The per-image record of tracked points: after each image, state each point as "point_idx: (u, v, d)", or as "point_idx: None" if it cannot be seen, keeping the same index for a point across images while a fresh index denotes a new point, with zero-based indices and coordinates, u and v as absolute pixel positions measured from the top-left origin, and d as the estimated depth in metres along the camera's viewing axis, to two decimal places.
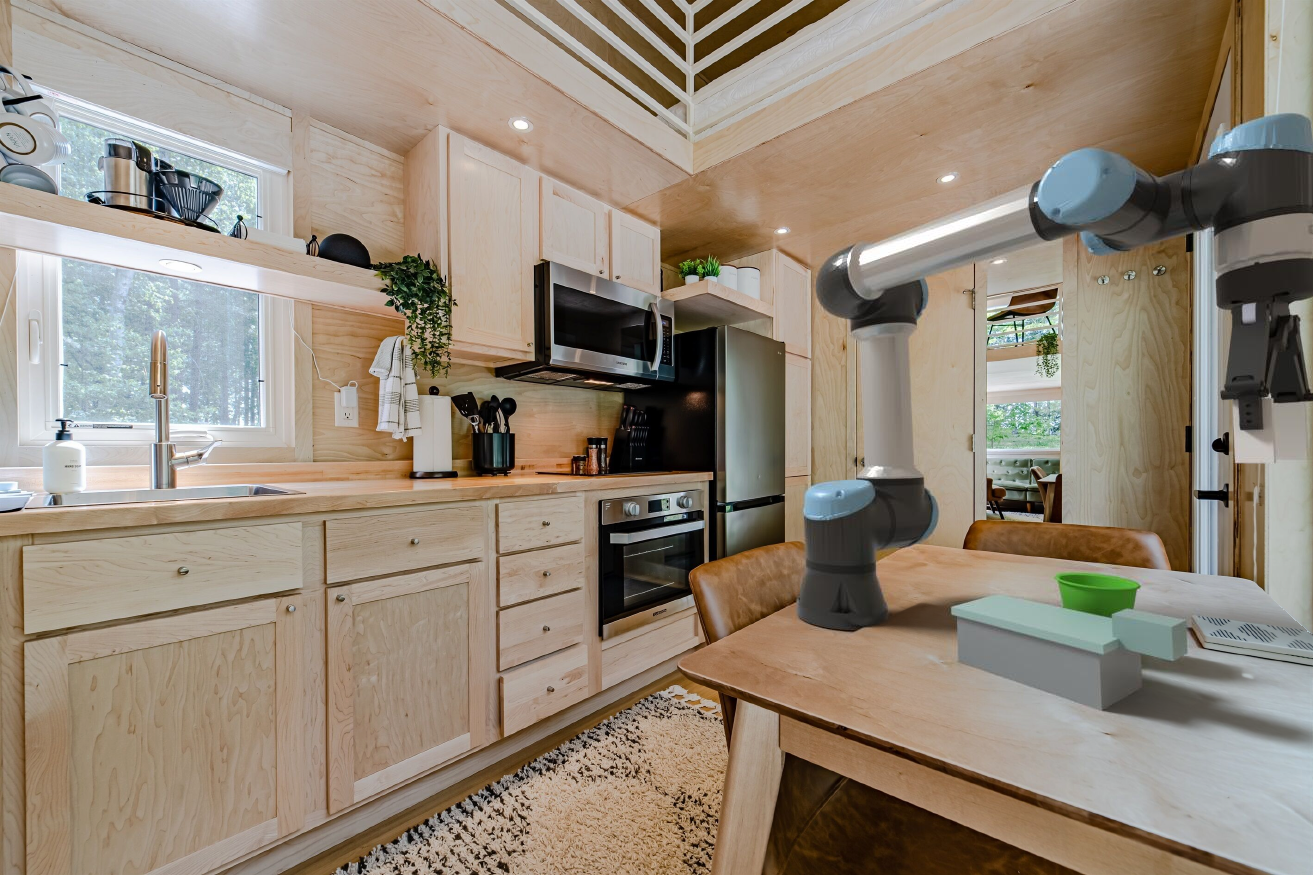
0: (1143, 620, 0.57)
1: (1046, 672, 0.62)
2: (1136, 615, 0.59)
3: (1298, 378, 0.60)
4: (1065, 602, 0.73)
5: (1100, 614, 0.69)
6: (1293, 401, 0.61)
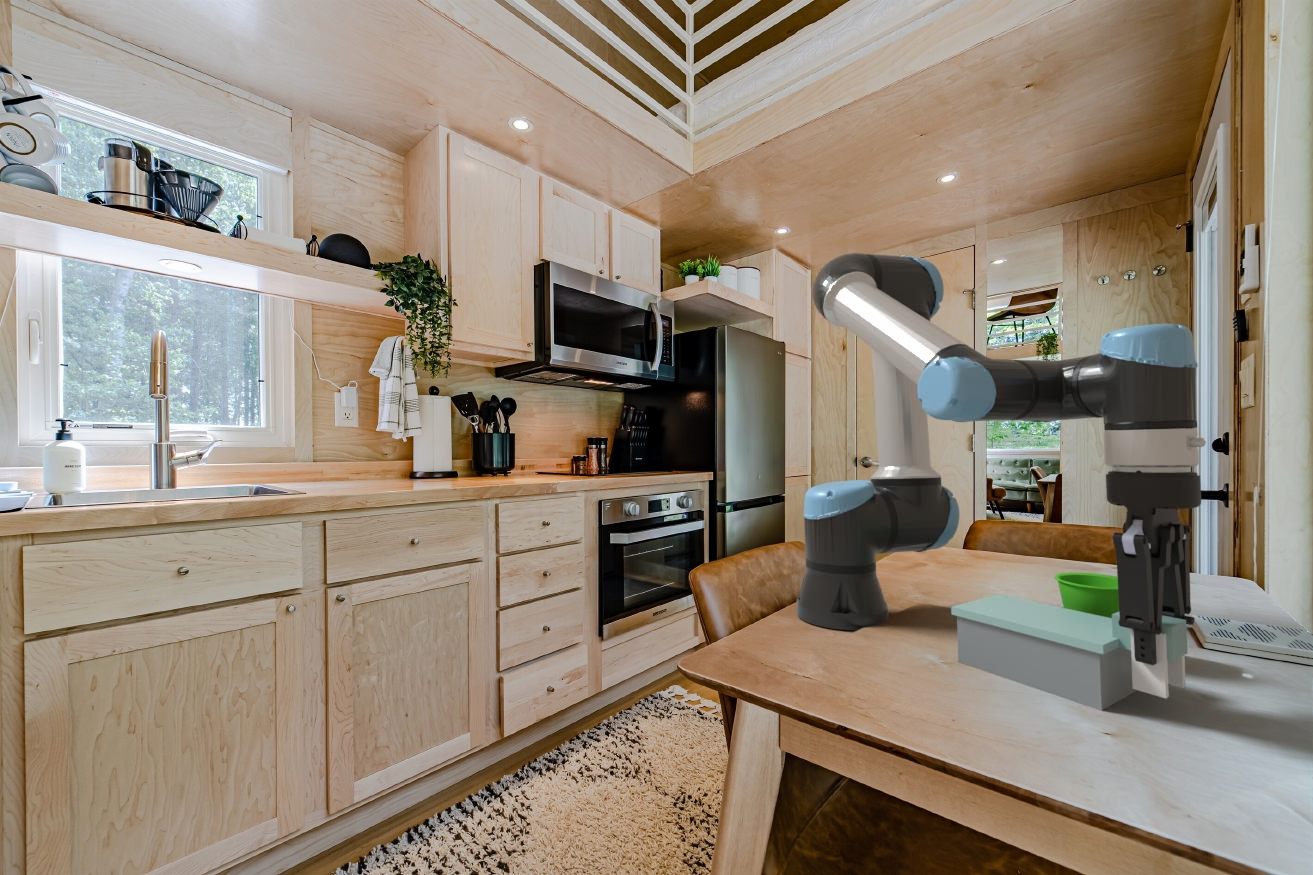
0: None
1: (1046, 672, 0.62)
2: None
3: (1177, 592, 0.58)
4: (1065, 602, 0.73)
5: (1100, 614, 0.69)
6: None
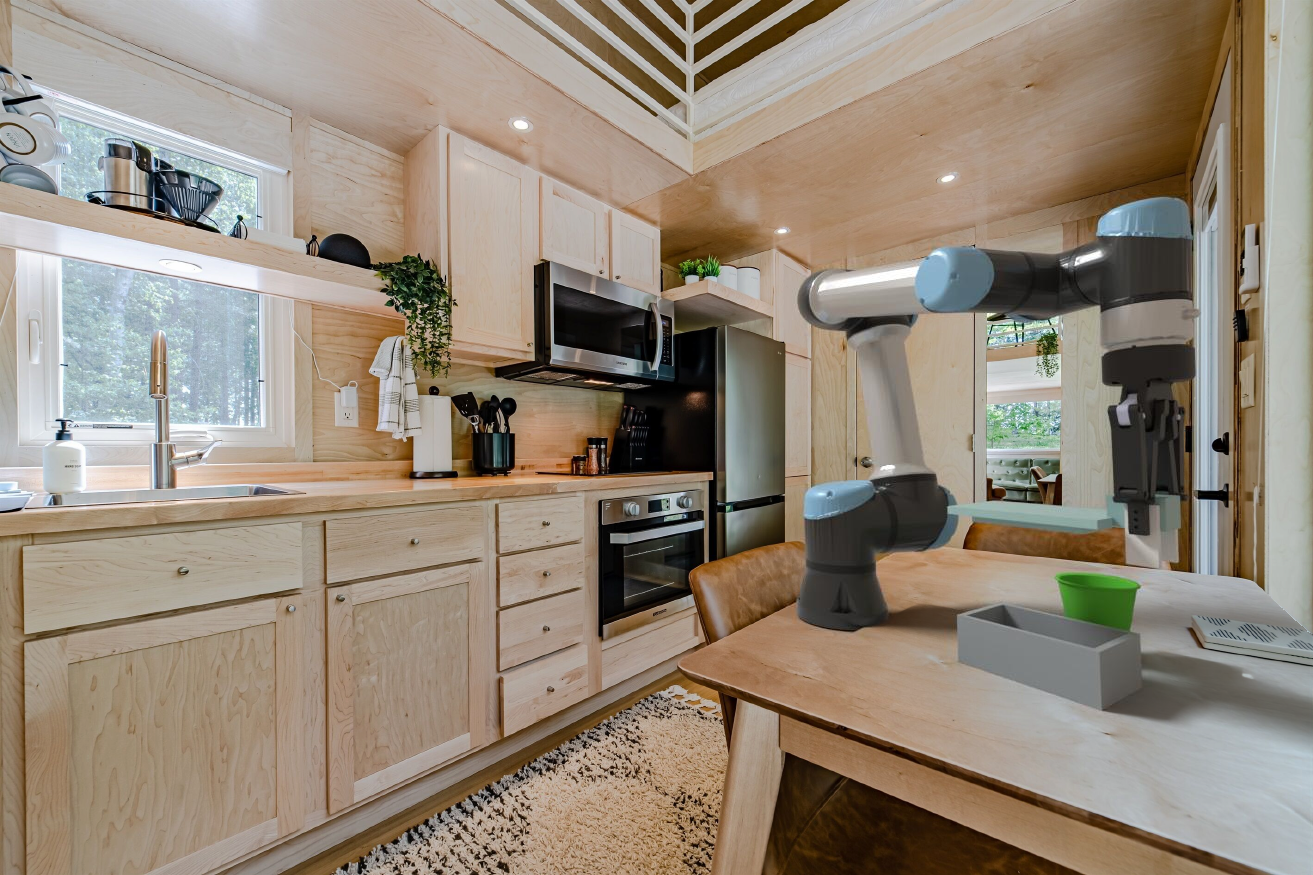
0: None
1: (1046, 672, 0.62)
2: None
3: (1171, 469, 0.58)
4: (1065, 602, 0.73)
5: (1100, 614, 0.69)
6: None
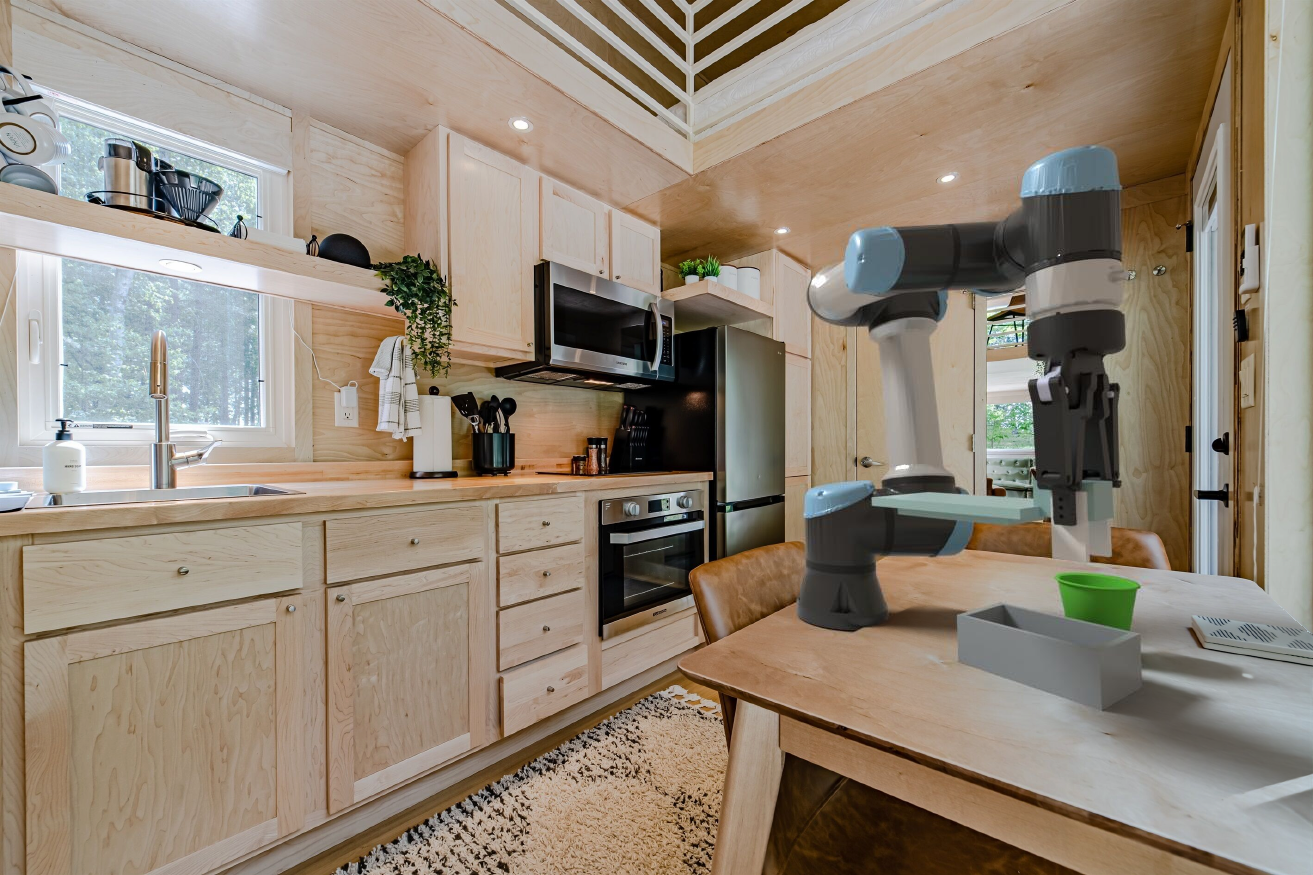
0: None
1: (1046, 672, 0.62)
2: None
3: (1102, 452, 0.52)
4: (1065, 602, 0.73)
5: (1100, 614, 0.69)
6: None
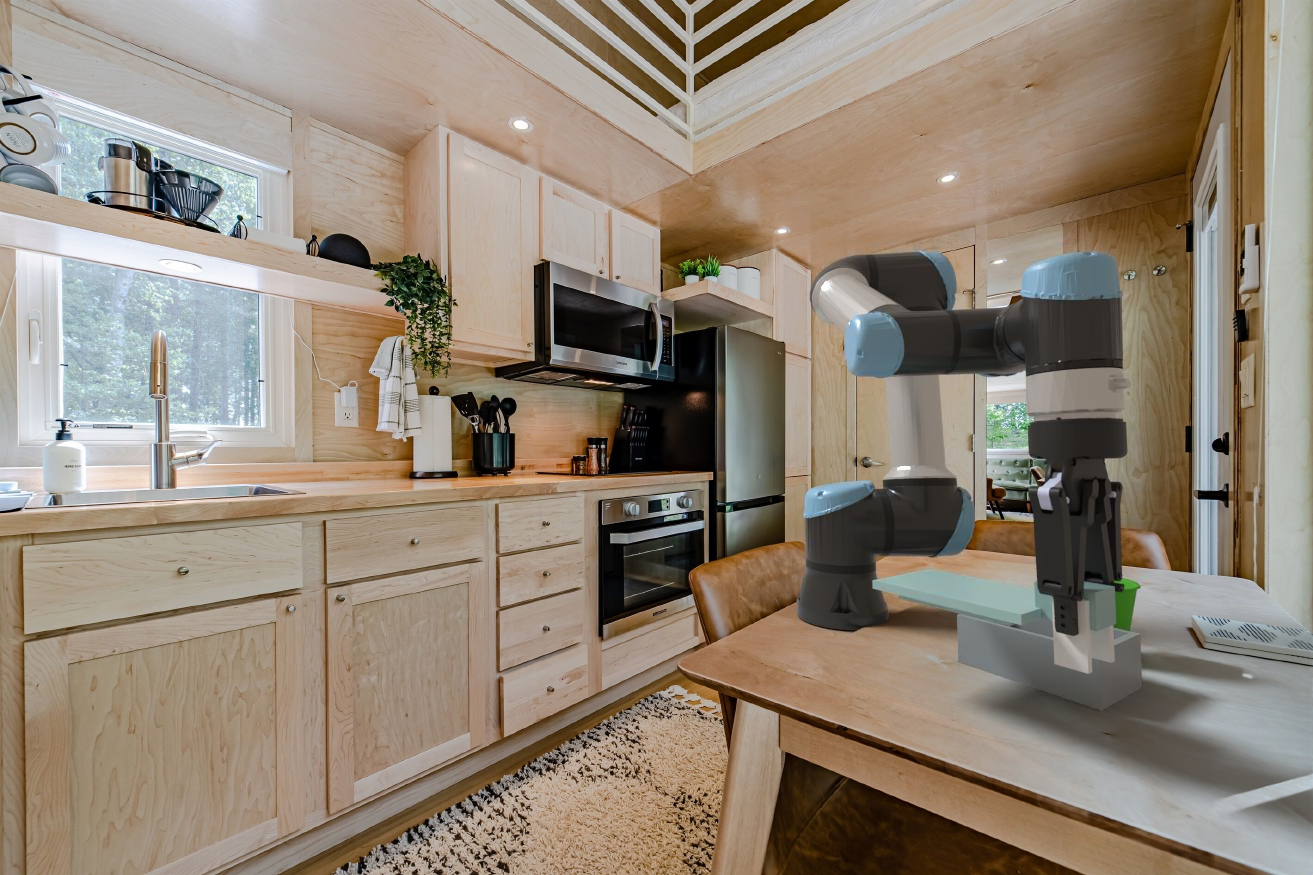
0: None
1: (1046, 672, 0.62)
2: None
3: (1105, 556, 0.51)
4: None
5: None
6: None
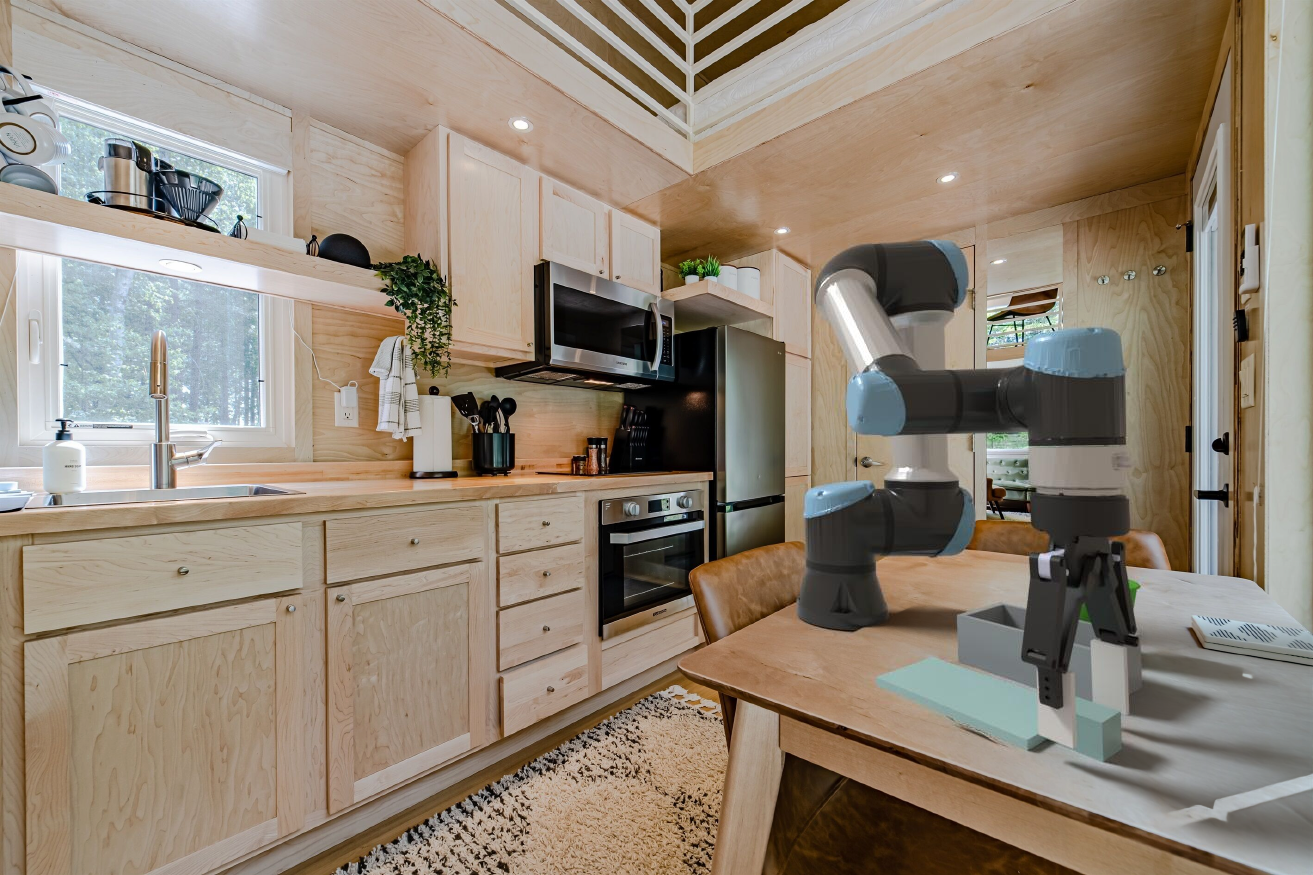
0: None
1: None
2: None
3: (1116, 619, 0.52)
4: None
5: None
6: (1114, 642, 0.54)
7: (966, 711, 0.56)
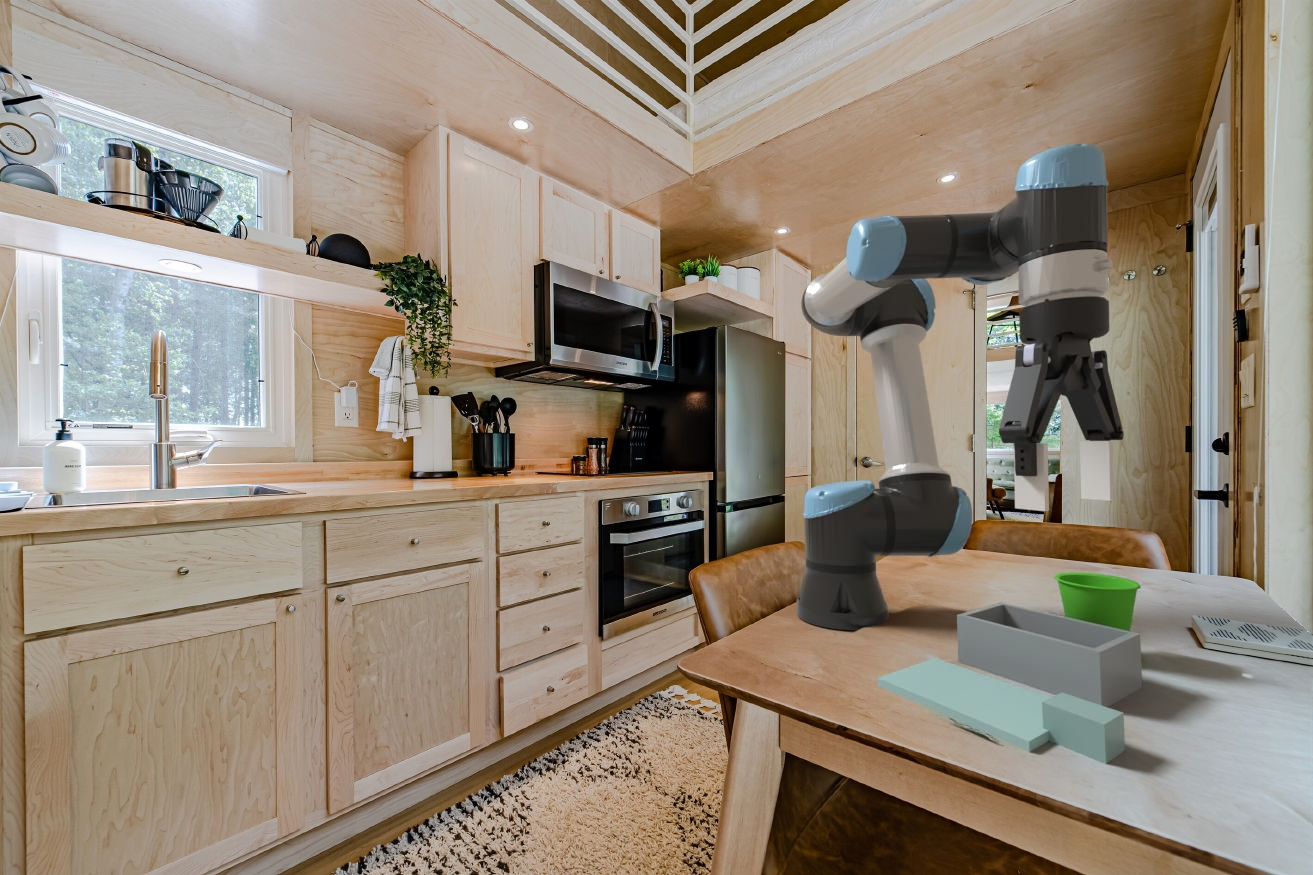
0: (1075, 713, 0.50)
1: (1046, 672, 0.62)
2: (1068, 704, 0.52)
3: (1101, 417, 0.58)
4: (1065, 602, 0.73)
5: (1100, 614, 0.69)
6: (1101, 439, 0.59)
7: (968, 712, 0.56)
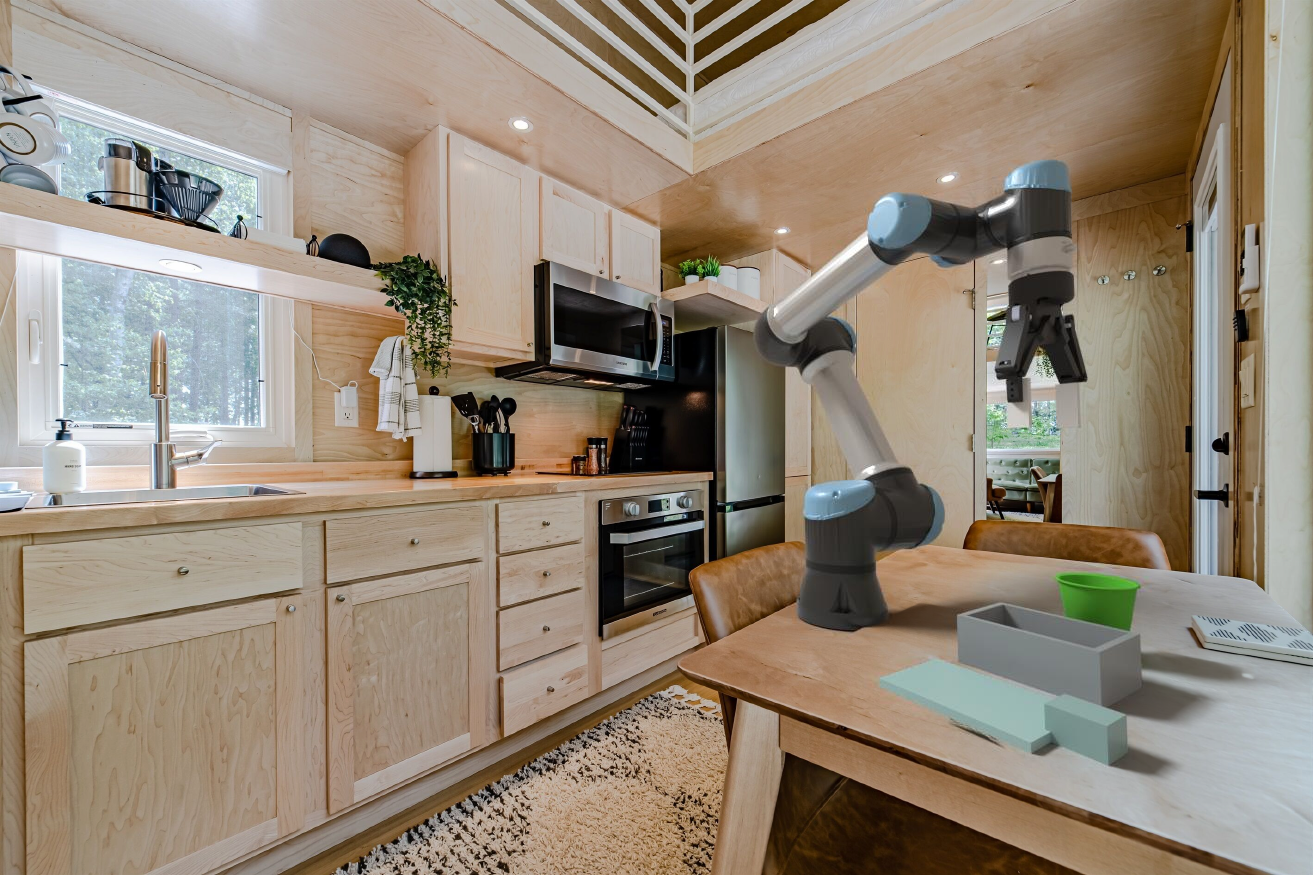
0: (1077, 714, 0.50)
1: (1046, 672, 0.62)
2: (1071, 706, 0.52)
3: (1071, 364, 0.77)
4: (1065, 602, 0.73)
5: (1100, 614, 0.69)
6: (1071, 382, 0.78)
7: (969, 713, 0.56)
